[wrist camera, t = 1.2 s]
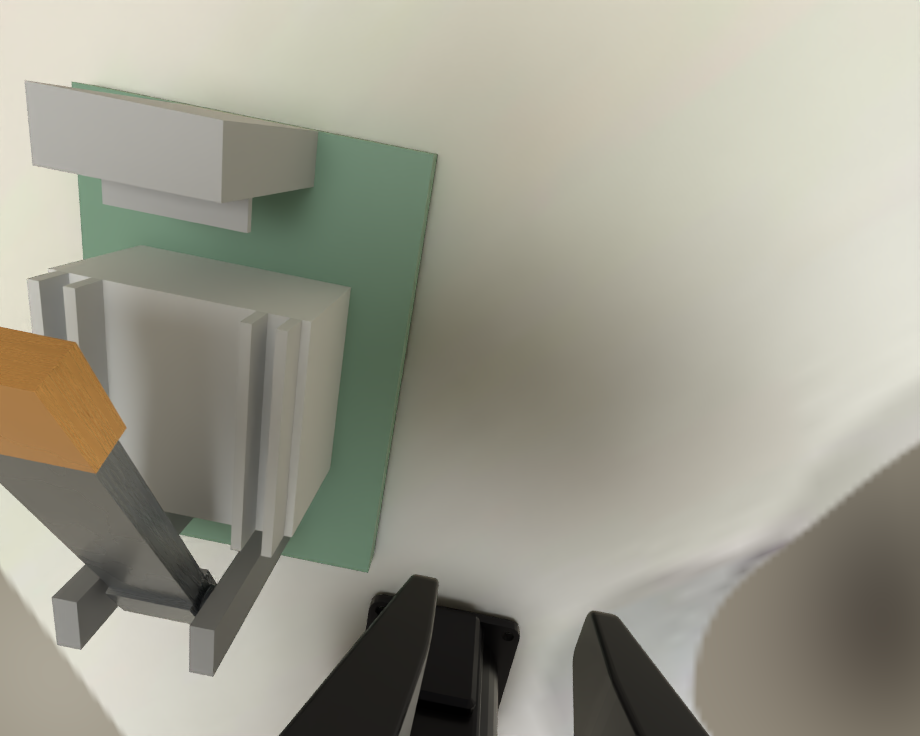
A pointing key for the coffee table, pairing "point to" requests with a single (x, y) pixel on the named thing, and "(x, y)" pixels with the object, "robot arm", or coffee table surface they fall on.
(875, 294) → the coffee table surface
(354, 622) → the coffee table surface
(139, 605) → the orange tipped gray lever
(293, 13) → the coffee table surface
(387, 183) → the heatsink board
